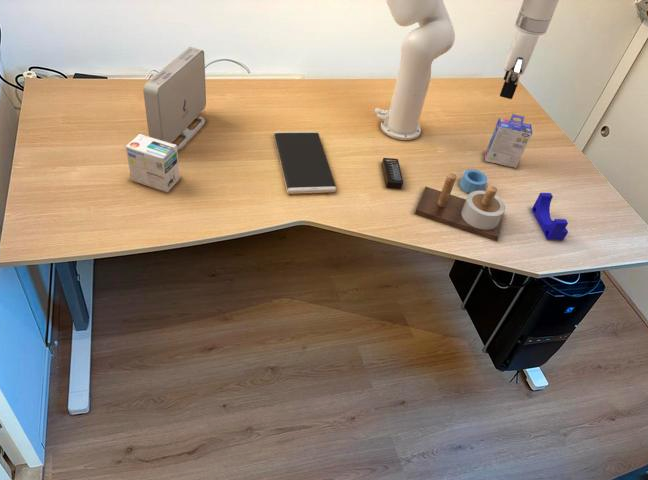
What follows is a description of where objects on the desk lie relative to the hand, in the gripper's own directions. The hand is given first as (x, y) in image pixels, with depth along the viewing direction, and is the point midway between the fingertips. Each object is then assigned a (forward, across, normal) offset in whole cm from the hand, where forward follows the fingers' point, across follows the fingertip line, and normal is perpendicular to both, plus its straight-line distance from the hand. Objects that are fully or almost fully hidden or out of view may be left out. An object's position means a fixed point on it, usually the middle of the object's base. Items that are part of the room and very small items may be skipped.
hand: (507, 89), depth 143 cm
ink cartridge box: (+26, -9, +6) cm, 28 cm away
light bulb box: (+25, +47, -78) cm, 95 cm away
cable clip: (+27, +15, +21) cm, 37 cm away
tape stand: (+26, +23, -2) cm, 35 cm away
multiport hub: (+26, +15, -22) cm, 37 cm away
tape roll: (+26, +9, 0) cm, 27 cm away
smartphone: (+25, +22, -47) cm, 57 cm away
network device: (+24, +25, -84) cm, 91 cm away
